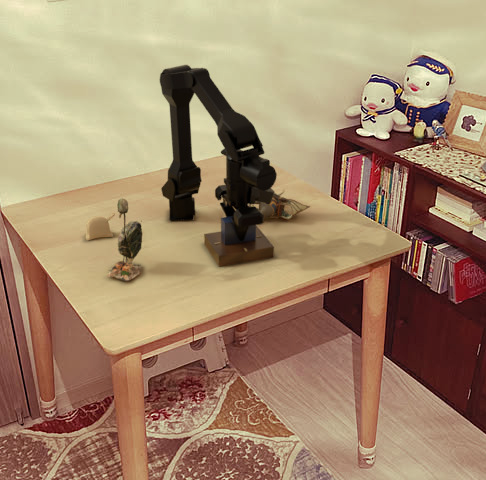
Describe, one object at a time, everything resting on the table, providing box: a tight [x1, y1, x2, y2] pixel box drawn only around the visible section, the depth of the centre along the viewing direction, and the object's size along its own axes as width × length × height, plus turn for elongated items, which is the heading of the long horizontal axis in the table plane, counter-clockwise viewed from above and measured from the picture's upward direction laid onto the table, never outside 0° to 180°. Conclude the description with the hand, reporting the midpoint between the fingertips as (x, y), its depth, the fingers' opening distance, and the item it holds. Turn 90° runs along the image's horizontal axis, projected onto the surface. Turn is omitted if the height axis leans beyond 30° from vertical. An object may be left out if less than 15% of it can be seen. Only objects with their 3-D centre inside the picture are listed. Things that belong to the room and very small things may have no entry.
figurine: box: [248, 188, 311, 221], centre depth 192 cm, size 20×6×17 cm
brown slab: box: [203, 225, 275, 267], centre depth 177 cm, size 14×12×3 cm
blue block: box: [220, 216, 257, 245], centre depth 174 cm, size 8×3×6 cm, turn 107°
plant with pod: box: [106, 198, 143, 282], centre depth 165 cm, size 8×11×20 cm
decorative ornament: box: [85, 213, 116, 241], centre depth 185 cm, size 4×8×5 cm, turn 106°
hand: (238, 236), depth 176 cm, fingers open, 4 cm apart
